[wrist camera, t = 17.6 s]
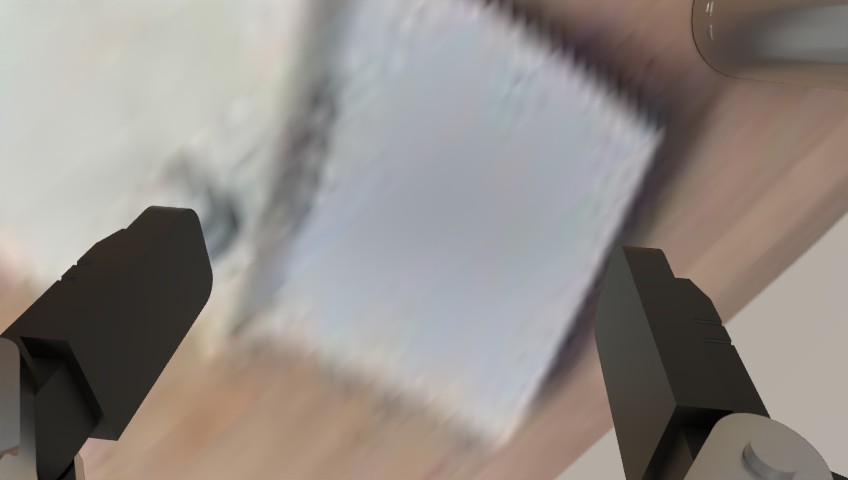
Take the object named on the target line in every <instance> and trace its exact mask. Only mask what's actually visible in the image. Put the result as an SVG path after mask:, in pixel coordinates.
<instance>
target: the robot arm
mask: <svg viewBox="0 0 848 480" xmlns="http://www.w3.org/2000/svg"><path fill="white" fill-rule="evenodd" d="M692 25H693V34H694V38H695V41H696V44H697V47H698V50H699V52H700V53H701V55H702V56H703V58H704V59H705V61H706V62H707V63H708V64H709V65H711V66H712V67H713V68H714V69H715V70H717V71H719V72H721V73H723V74H724V75H728V76H732V77H736V78H743V79H752V80H760V81H768V82H774V83H783V84H791V85H800V86H808V87H817V88H825V89H834V90H842V91H848V0H695V3H694V6H693V18H692ZM61 277H62V279H61V281H59V280H57V281H56V282H55V283H54V284H53V285H52V286H51V287H50V288H49V289H48V290H47V291H46V292H45V293H44V294H43V295H42V296H41V297H40V298H38V299H37V300H36V301H35V302H34V303H33V304H32V305H31V306H30V307H29V308H28V309H27V310H26V311H25V312H24V313H23V314H22V315H21V316H20V317H19V318H18V319H17V320H16V321H15V322H14V323H12V324H11V325H10V326H9V327H8V328H7V329H6V330H5V331H4V332H3V333H2V334H1V335H0V480H85V475H84V465H83V460H82V458H81V456H80V454H79V450H80V449H81V448H82V446H83V445H84V443H85V442H86V440H87V439H88V438H97V439H106V440H115V441H118V439H119V438H120V436H121V434H122V433H123V431H124V430H125V428H126V427H127V425H128V424H129V422H130V421H131V419H132V417H133V416H134V414H135V413H136V411H137V410H138V408H139V407H140V405H141V404H142V402H143V400H144V399H145V397H146V396H147V394H148V393H149V391H150V390H151V388H152V387H153V385H154V383H155V382H156V380H157V379H158V377H159V376H160V374H161V373H162V371H163V370H164V368H165V366H166V365H167V363H168V362H169V360H170V359H171V357H172V356H173V354H174V353H175V351H176V349H177V348H178V346H179V345H180V343H181V342H182V340H183V339H184V337H185V336H186V334H187V332H188V331H189V329H190V328H191V326H192V325H193V323H194V322H195V320H196V319H197V317H198V315H199V314H200V312H201V311H202V309H203V308H204V306H205V305H206V303H207V301H208V299H209V297H210V294H211V290H212V283H213V275H212V269H211V265H210V261H209V257H208V253H207V249H206V245H205V241H204V237H203V233H202V229H201V225H200V221H199V218H198V216H197V214H196V212H195V211H194V210H192V209H187V208H175V207H163V206H150V207H148V208H147V209H146V210H145V211H144V212H143V213H142V214H141V215H140V216H139V217H138V218H137V219H136V220H135V221H134V222H133V223H132V224H131V225H130V226H129V227H128V228H127V229H121V230H119V231H117V232H116V233H114V234H112V235H110V236H108V237H106V238H105V239H103V240H101V241H99V242H97V243H96V244H95V245H94V246H93V247H92V248H91V249H89V250H88V251H87V252H86V253H85V254H84V255H83V256H82V257H81V258H80V259H79V260H78V261H77V265H73V266H72V267H71V268H70V269H69V270H68V271H67V272H66V273H64V274H63V275H62V276H61ZM595 340H596V345H597V349H598V354H599V358H600V363H601V368H602V372H603V377H604V381H605V386H606V390H607V395H608V399H609V404H610V408H611V413H612V418H613V422H614V427H615V431H616V436H617V440H618V445H619V449H620V453H621V458H622V463H623V467H624V472H625V476H626V480H848V478H846V477H844V476H841V475H839V474H836V473H834V472H832V471H830V469H829V468H828V465H827V464H826V462H825V460H824V459H823V458H822V456H821V455H820V454H819V452H817V450H816V449H815V448H814V447H813V446H812V445H811V444H810V443H809V442H808V441H807V440H806V439H805V438H803V437H802V436H801V435H799V434H798V433H797V432H795V431H794V430H792V429H790V428H789V427H787V426H785V425H784V424H781V423H779V422H777V421H775V420H773V419H771V418H770V416H769V414H768V412H767V410H766V408H765V406H764V404H763V402H762V400H761V398H760V396H759V394H758V392H757V390H756V388H755V386H754V384H753V382H752V380H751V378H750V376H749V374H748V373H747V371H746V368H745V366H744V364H743V362H742V360H741V358H740V357H739V354H738V353H737V350H736V348H735V347H734V345H731V339H730V337H729V335H728V333H727V331H726V329H725V327H724V326H722V321H721V319H720V317H719V315H718V313H717V311H716V309H715V307H714V305H713V303H712V301H711V299H710V298H709V297H708V296H707V295H706V294H704V293H703V292H702V291H701V290H700V289H699V288H698V287H697V286H696V285H695V284H694V283H693V282H692V281H691V280H690V279H684V278H675V277H674V275H673V272H672V270H671V268H670V266H669V263H668V261H667V259H666V257H665V254H664V253H663V251H662V250H660V249H654V248H642V247H630V246H617V247H616V248H615V250H614V252H613V254H612V257H611V260H610V264H609V267H608V271H607V274H606V278H605V281H604V284H603V288H602V291H601V295H600V298H599V302H598V305H597V309H596V314H595Z"/></svg>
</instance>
